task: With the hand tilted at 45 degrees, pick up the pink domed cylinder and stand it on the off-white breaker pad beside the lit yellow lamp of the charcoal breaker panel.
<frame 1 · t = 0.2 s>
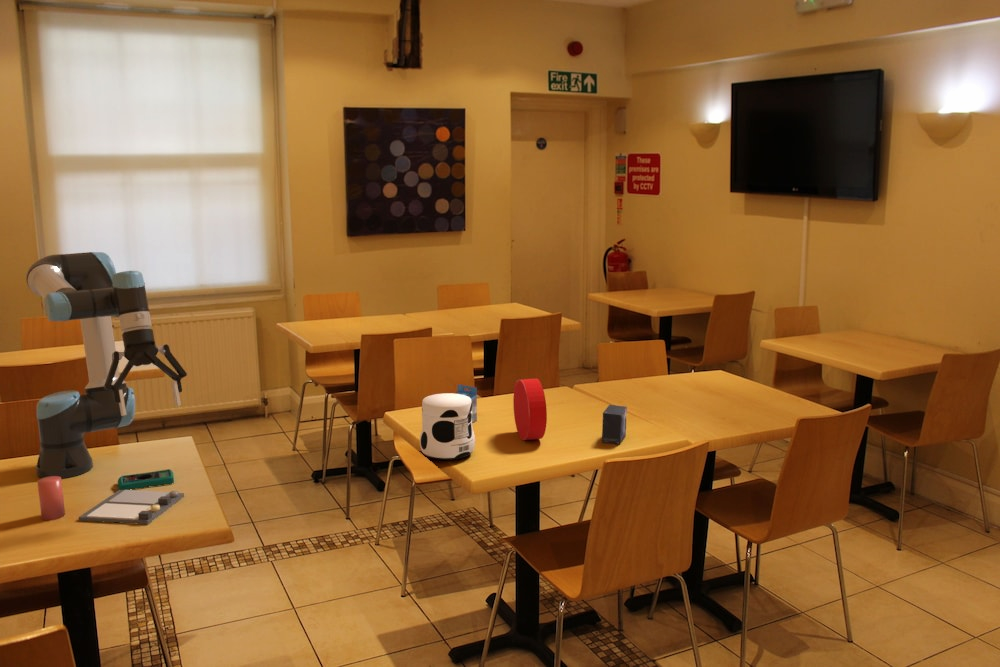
hand: (151, 410, 226), 27 cm above the table, tool tilted 20°, fingers open, 13 cm apart
pink domed cylinder: (53, 516, 228), on the table
upright red puck: (529, 438, 290), on the table
digital multimeter: (147, 485, 251), on the table
breaker panel: (133, 508, 233), on the table
small box: (614, 440, 288), on the table
milk container: (447, 455, 274), on the table
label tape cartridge: (464, 421, 310), on the table
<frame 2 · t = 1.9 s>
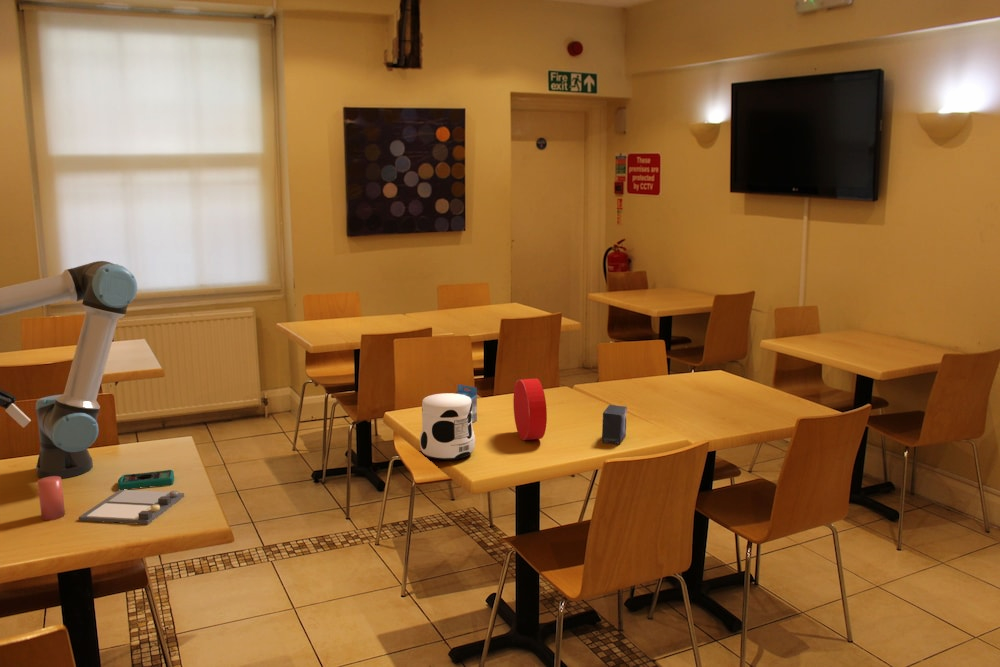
hand: (11, 431, 225), 23 cm above the table, tool tilted 45°, fingers open, 13 cm apart
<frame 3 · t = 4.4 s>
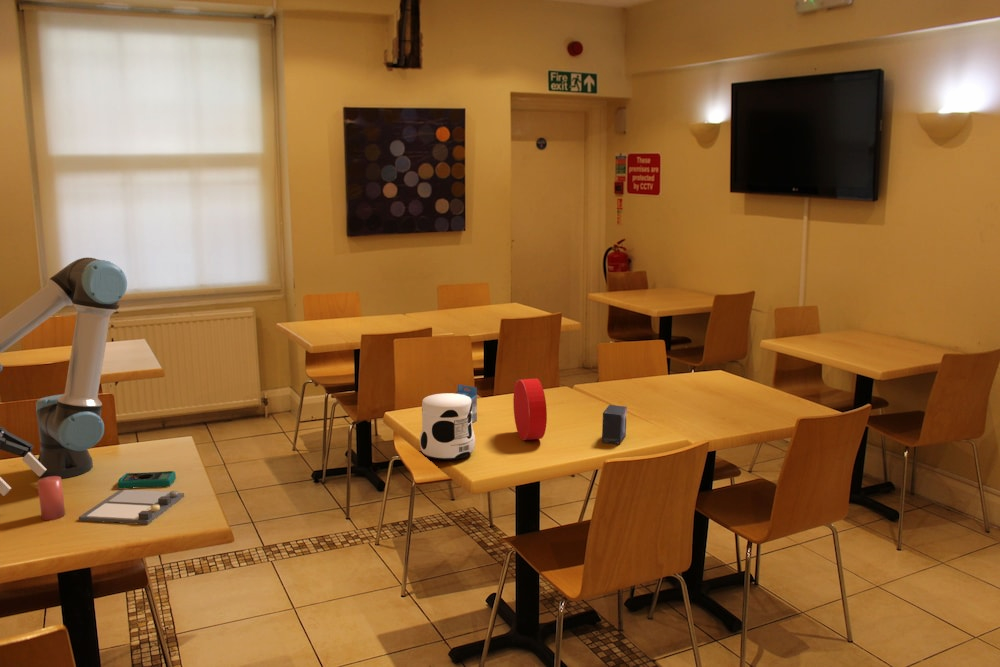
hand: (25, 482, 225), 10 cm above the table, tool tilted 45°, fingers open, 13 cm apart
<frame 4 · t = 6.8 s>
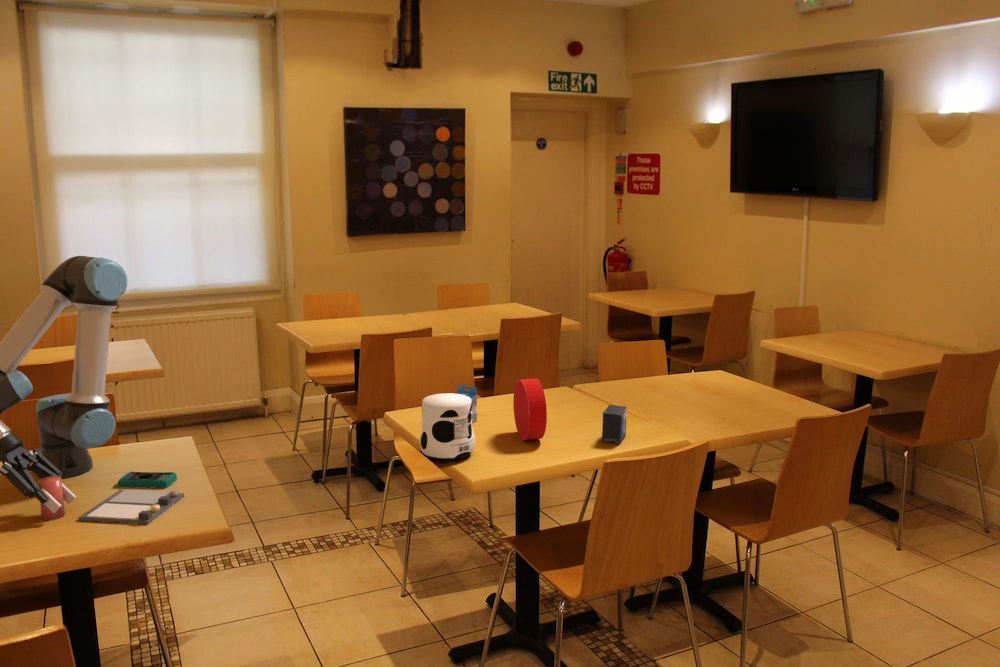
hand: (65, 504, 227), 3 cm above the table, tool tilted 45°, fingers closed on pink domed cylinder, 5 cm apart
pink domed cylinder: (53, 516, 228), on the table, touching gripper
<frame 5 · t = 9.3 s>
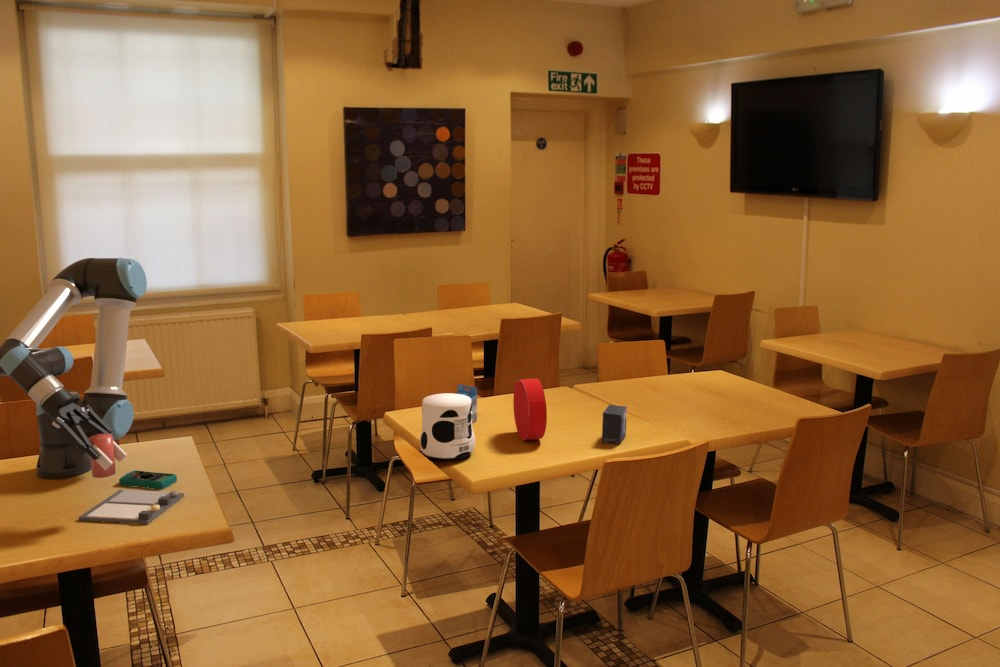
hand: (116, 462, 223), 15 cm above the table, tool tilted 45°, fingers closed on pink domed cylinder, 5 cm apart
pink domed cylinder: (104, 474, 224), point 12 cm above the table, touching gripper
when the fingers open (6 cm above the table, at t = 11.6 s): pink domed cylinder drops 1 cm, resting on breaker panel.
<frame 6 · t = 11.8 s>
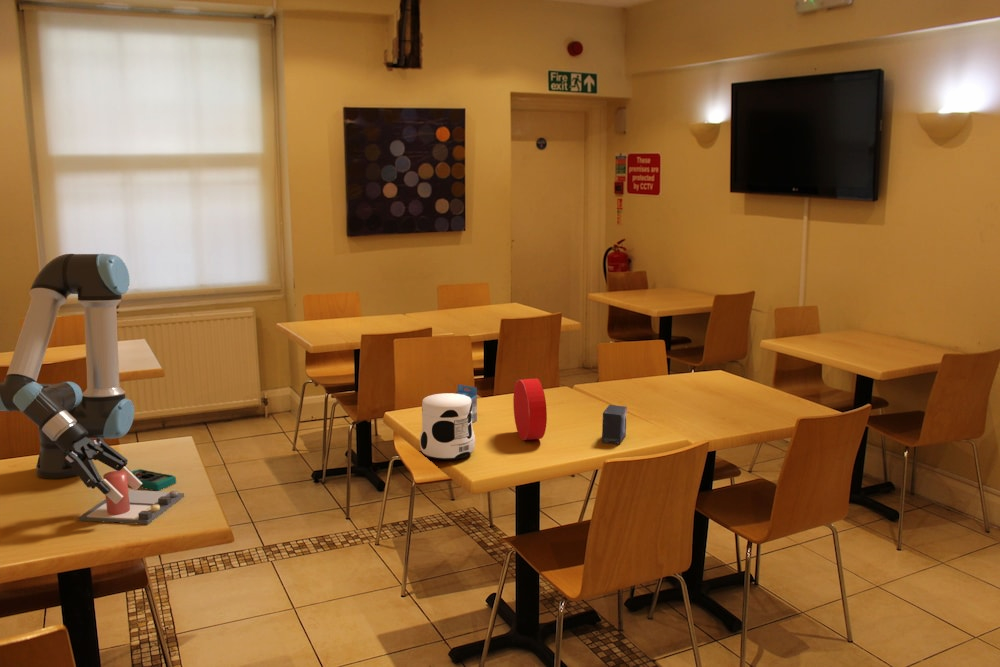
hand: (129, 493, 226), 6 cm above the table, tool tilted 45°, fingers open, 8 cm apart
pink domed cylinder: (118, 510, 228), point 1 cm above the table, touching breaker panel
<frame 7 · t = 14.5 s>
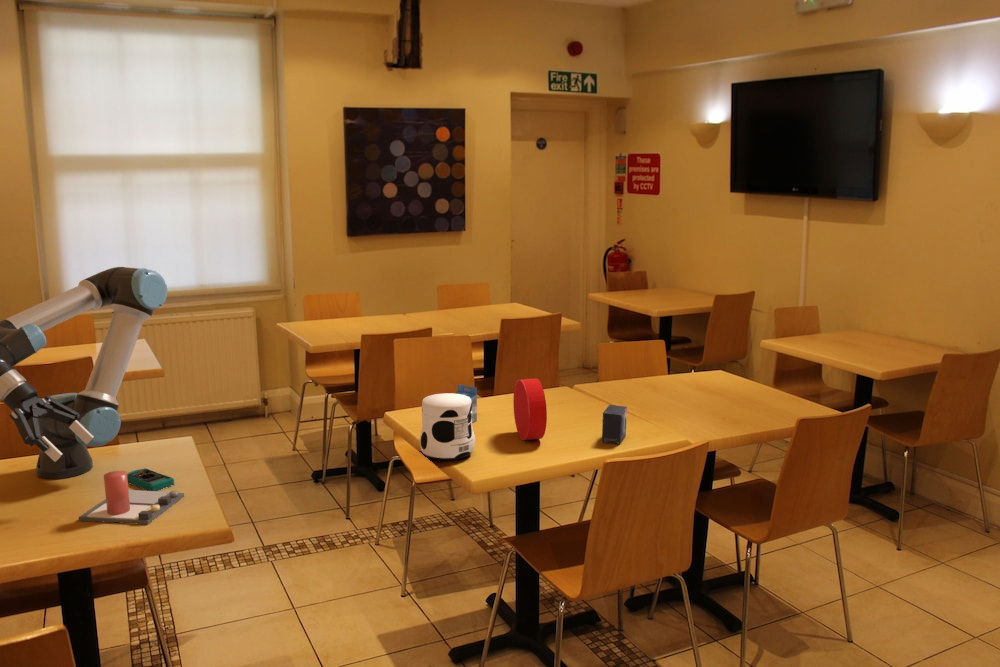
hand: (75, 449, 226), 18 cm above the table, tool tilted 45°, fingers open, 13 cm apart
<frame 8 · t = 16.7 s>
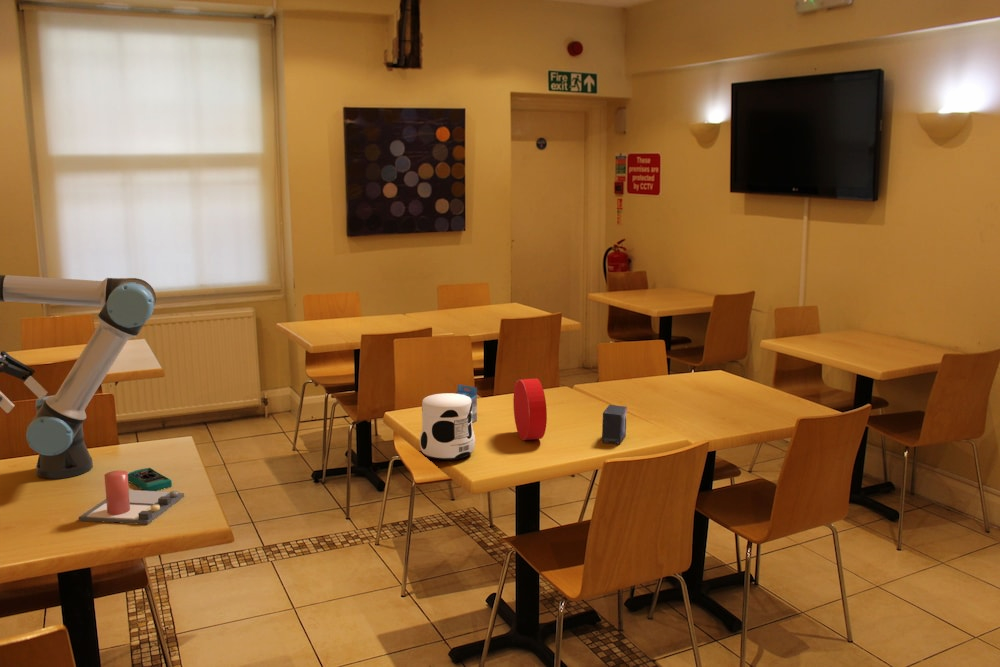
hand: (28, 402, 233), 28 cm above the table, tool tilted 45°, fingers open, 13 cm apart
at the end: pink domed cylinder 0.1 cm from the target spot on the breaker panel, point 1.4 cm above the breaker panel's base; pink domed cylinder tilted 1°; the gripper is holding nothing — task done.
